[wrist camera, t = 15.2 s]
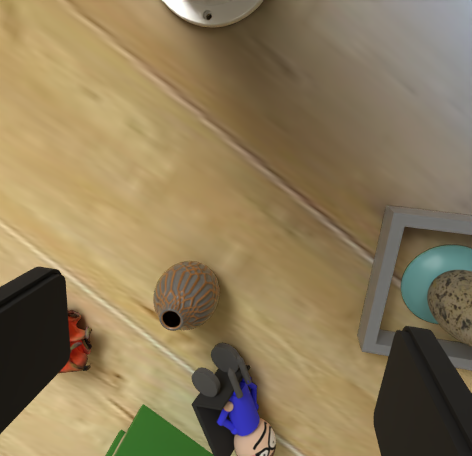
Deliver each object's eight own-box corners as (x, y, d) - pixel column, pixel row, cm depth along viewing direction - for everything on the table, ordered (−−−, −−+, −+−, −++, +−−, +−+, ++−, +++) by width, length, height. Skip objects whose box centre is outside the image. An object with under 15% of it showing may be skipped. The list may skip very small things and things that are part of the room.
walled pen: (386, 205, 35) (393, 212, 32) (554, 225, 33) (578, 234, 30) (357, 335, 40) (361, 351, 37) (502, 359, 38) (519, 378, 35)
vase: (236, 284, 41) (221, 326, 32) (196, 316, 43) (172, 363, 35) (195, 241, 40) (169, 273, 32) (157, 276, 42) (123, 314, 34)
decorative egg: (490, 294, 36) (559, 357, 26) (434, 319, 38) (479, 386, 28) (463, 248, 35) (524, 295, 25) (406, 276, 37) (444, 329, 27)
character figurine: (247, 330, 43) (280, 427, 46) (192, 342, 44) (228, 435, 48) (242, 374, 35) (281, 485, 39) (176, 387, 36) (220, 493, 40)
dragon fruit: (43, 276, 47) (111, 331, 50) (-9, 327, 45) (65, 381, 48) (33, 284, 39) (114, 348, 42) (-31, 345, 37) (60, 409, 40)
